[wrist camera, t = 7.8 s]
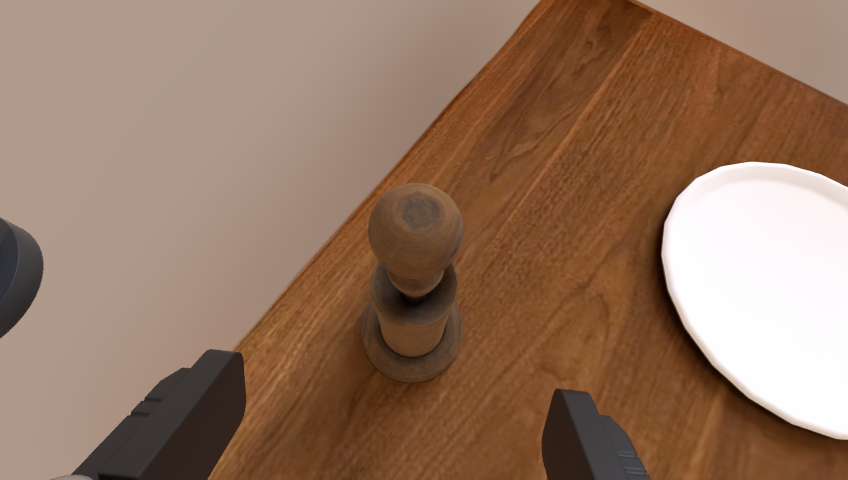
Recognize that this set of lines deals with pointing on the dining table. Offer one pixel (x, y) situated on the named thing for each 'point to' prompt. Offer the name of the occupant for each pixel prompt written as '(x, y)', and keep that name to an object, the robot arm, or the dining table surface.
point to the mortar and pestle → (413, 284)
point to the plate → (766, 286)
